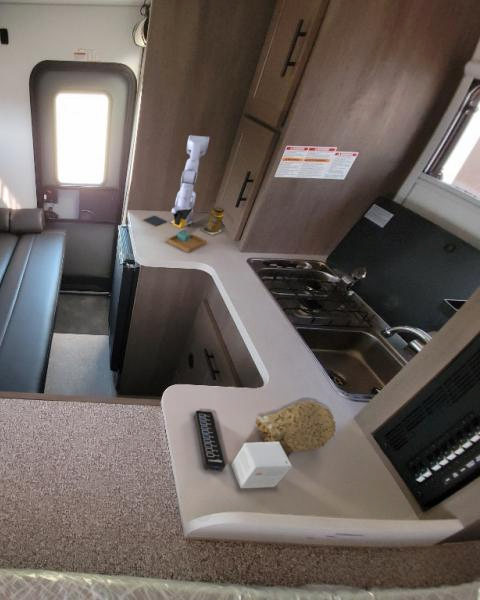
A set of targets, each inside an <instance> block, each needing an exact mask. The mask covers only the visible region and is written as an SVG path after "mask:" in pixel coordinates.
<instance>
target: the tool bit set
mask: <svg viewBox="0 0 480 600" xmlns="http://www.w3.org/2000/svg"><path fill="white" fill-rule="evenodd" d="M193 418H194V425H195V429H196V433H197V440H198V445H199V450H200V455H201V461H202V466H203V469H204V470H205V471H213V472H214V471H215V472H223V470H224V469H225V467H226V462H225V458H224V454H223V450H222V445H221V442H220V437H219V433H218V428H217V425H216V420H215V416H214V413H213V412H212V411H206V410H195V412H194V415H193Z"/></svg>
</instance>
